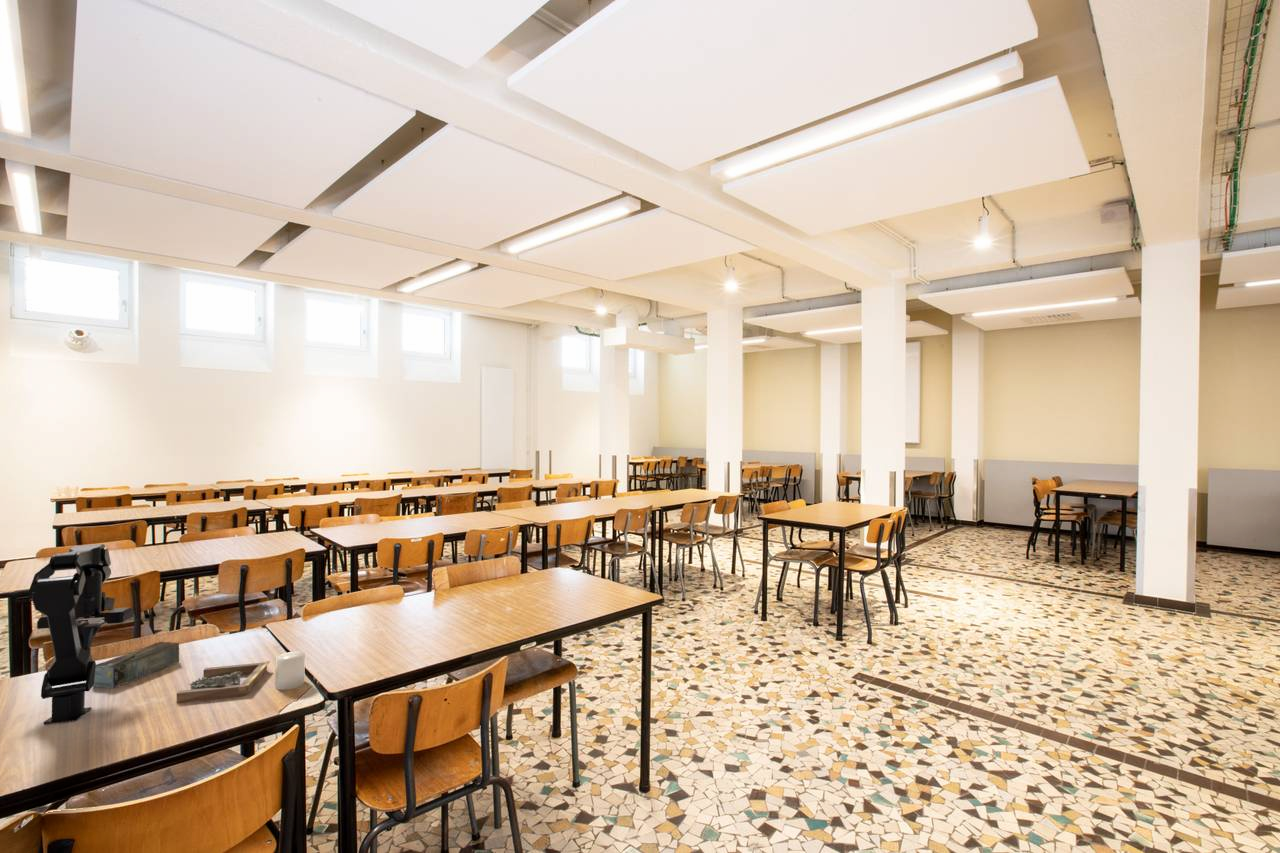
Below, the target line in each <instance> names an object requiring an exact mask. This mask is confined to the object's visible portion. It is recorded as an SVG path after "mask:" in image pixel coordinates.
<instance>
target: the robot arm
mask: <svg viewBox="0 0 1280 853" xmlns="http://www.w3.org/2000/svg"><path fill="white" fill-rule="evenodd" d="M111 564H112V563H111V557H110V553H109V548H108V547H106V545H105V544H103V543H100V544H98V543H97V544H96V543H95V544H83V545H73V546H72V547H71V548H69V550H68V551H67V552H63V553H56V554H54V555H51V556H50V559H49V562H48V564H46V565H44V566H43V567H42V568H41V569H40V570H38V571H37V572H36V573H35V574H34V576H33V577H32V578H33V579H32V581H31V584H30V586H29V590H28V599H29V600H30V601H31V602H32V604H33V606H34V610H36V611H37V612H39V613H42V614H43V616H40V617H39V618H38V619H37V621H36V629H38V630H40V629H42V630H43V629H49V634H50V638H51V643H52V649H53V654H54V657H53V658H52V661H51V663H50V666H49V667H48V668H47V671H46V673H44V676H43V680H42V684H41V689H40V697H41V700H45V699H49V698H51V716H50V717H49V718H47V719H46V720H45V721H43V724H44V725H49V724H57V723H59V724H60V723H68V722H75V721H77V720H79V719H80V718H82V717H83V716H84V715H86V714H87V713H89V712H90V711H91V710H93V708H92V706H89V707H86V706H85V698H86V697H85V696H86V692H90V691H91V689H92V688H93V687H94V686H93V685H94V678H95V669H96V665H97V664H96V661H95V660H94V658H93V656H92V649H91V645H92V643H93V641H94V639H95V637H96V635H97V633H98V632H99V629H100V628H101V627H102V625H103V626H104V625H105V624H107V625H110V624H112V625H113V624H122V623H124V622H126V621H128V620H129V619H132V618H133V617H135V610H134V608H132V607H130V606H129V607H128V606H127V607H116V608H114V606H115V601H116V598H114V597H108V596H107V597H106V592H105V591H102V590H103V583H104V582H106V581H107V580H108V579H109V578H111V575H112V570H111V567H110V566H111ZM69 570H75V571H76V572H75V573H74V574H73V575H69V576H58V577H57V576H56V577H52V576H53V575H54V574H55V572H57V571H58V572H59V571H69ZM106 611H107V612H106ZM63 685H64V686H63ZM57 686H58V687H57Z"/></svg>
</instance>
